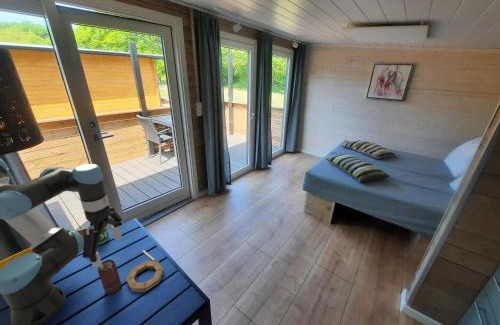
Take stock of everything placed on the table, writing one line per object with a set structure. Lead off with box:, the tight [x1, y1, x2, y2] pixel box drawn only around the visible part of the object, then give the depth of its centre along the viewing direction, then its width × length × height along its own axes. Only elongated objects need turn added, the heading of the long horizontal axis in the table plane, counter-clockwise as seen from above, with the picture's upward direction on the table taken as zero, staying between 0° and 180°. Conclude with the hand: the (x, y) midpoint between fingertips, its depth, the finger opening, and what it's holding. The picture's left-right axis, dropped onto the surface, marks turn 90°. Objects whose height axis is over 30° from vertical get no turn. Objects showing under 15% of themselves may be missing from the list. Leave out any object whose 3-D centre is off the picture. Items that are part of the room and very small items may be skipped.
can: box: [97, 259, 122, 296], centre depth 88 cm, size 6×6×14 cm
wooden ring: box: [126, 260, 164, 293], centre depth 96 cm, size 14×14×2 cm
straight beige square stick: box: [142, 249, 156, 261], centre depth 107 cm, size 10×1×1 cm, turn 54°
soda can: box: [87, 223, 110, 246], centre depth 114 cm, size 8×8×12 cm
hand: (108, 251), depth 83 cm, fingers open, 13 cm apart
